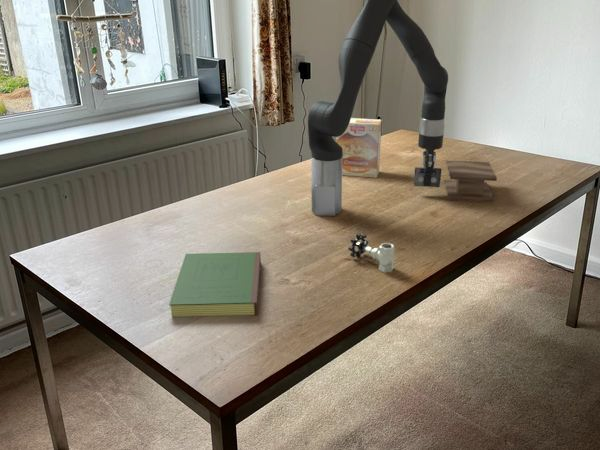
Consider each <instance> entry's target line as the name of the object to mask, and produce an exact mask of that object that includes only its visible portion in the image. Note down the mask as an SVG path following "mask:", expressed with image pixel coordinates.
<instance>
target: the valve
mask: <svg viewBox="0 0 600 450" xmlns="http://www.w3.org/2000/svg"><path fill="white" fill-rule="evenodd" d="M366 238H367V234H364V233H362V234H361V233H358V232H357V233H356V236H355V238H351V239H350V242H351V243H352V244H351V246H348V248H347V250H348V251H349V252H350V257H352V258H355V257H356V258H361V257H362V255H363V254H364V253H366V254H368V255H371V258H372V259H374V260H378V271H380V272H382V273H392V272H393V269H394V263H395V261H396V255H395V245H394V244H393V243H390V242H384V243H381V244H380V245H379V247H375V248H373V247H371V246H368V244H369V241H368V240H366ZM359 241H361V242H359ZM356 249H357V250H356Z"/></svg>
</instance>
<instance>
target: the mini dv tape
mask: <svg viewBox="0 0 600 450" xmlns="http://www.w3.org/2000/svg"><path fill="white" fill-rule="evenodd" d="M424 169H425V168H423V167H419V166H417V167H415V166H414V177H413V186H414V187H429V188H440V187H441V177H442V168H439V167H434V168H433V174H432V175H431V185H430V186H424Z"/></svg>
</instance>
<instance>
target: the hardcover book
mask: <svg viewBox="0 0 600 450" xmlns="http://www.w3.org/2000/svg"><path fill="white" fill-rule="evenodd" d="M261 259H262V258H261V251H259V252H257V251H254V252H249V251H248V252H215V253H214V252H208V253H207V252H206V253H204V252H201V253H185V254H184V257H183V261H182V264H181V267H180V271H179V273H178V276H177V279H176V282H175V286H174V288H173V292H172V294H171V298H170V301H169V304H168V305H169V306H170V311H171V313H170V314H171V317H172V318H174V317H175V318H176V317H210V316H211V317H213V316H215V317H216V316H219V317H220V316H221V317H222V316H258V305H259V296H260V295H259V292H260V281H261V280H260V278H261V268H262V267H261V266H262V263H261Z"/></svg>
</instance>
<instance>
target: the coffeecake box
mask: <svg viewBox="0 0 600 450" xmlns="http://www.w3.org/2000/svg"><path fill="white" fill-rule="evenodd" d="M382 125H383V124H382V119H379V118H378V119H376V118H375V119H374V118H372V119H371V118H359V117H357V118H356V117H351V119H350V122H349V125H348V127H347V129H346V131H345V132H344V133H343V134H342V135H341V136H339V137H336V141H335V142H337V143H338V144H339V145H340V146H341V147H342V150H343V160H342V176H349V177H350V176H351V177H361V178H363V177H364V178H374V179H375V178H378V175H379V172H380V162H381V144H382V143H381V142H382Z"/></svg>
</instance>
